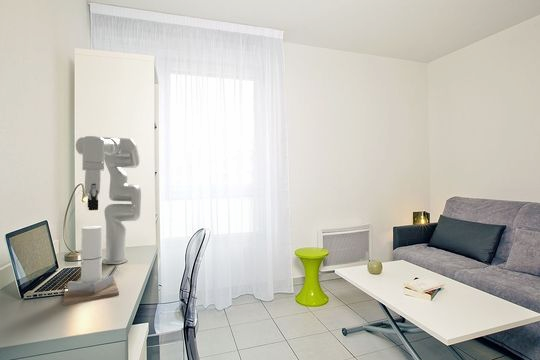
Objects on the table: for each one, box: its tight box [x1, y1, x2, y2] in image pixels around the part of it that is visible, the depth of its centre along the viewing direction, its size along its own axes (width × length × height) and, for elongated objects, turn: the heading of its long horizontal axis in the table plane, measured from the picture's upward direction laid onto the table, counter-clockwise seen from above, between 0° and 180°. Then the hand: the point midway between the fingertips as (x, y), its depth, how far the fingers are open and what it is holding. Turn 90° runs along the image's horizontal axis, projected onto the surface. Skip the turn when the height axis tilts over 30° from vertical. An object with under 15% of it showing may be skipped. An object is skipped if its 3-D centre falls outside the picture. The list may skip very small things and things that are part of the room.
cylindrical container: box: [80, 225, 103, 283], centre depth 118 cm, size 7×7×25 cm
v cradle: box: [63, 274, 120, 306], centre depth 118 cm, size 20×18×5 cm
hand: (92, 208), depth 118 cm, fingers open, 9 cm apart
